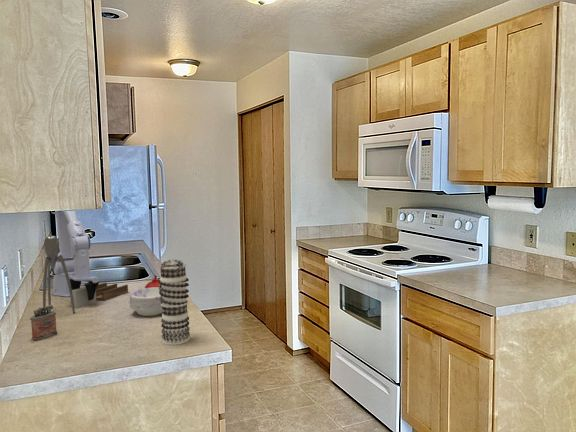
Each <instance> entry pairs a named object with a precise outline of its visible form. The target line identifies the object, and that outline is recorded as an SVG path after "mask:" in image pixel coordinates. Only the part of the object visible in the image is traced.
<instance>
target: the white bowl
mask: <svg viewBox="0 0 576 432" xmlns="http://www.w3.org/2000/svg"><path fill="white" fill-rule="evenodd" d="M159 291H160V290H159V287H153V288H145V287H144V288H140V289H136V290H135V289H134V290H133V291H131V292H130V293H129V308H130V309H132V310H134V311H135V312H136V314H138V315H139V316H142V317H143V316H144V317H151V316H152V317H153V316H158V315H162V313H163V312H162V306H161V304H160V302H161V301H160V297H161V295H160V294H159Z"/></svg>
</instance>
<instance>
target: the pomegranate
mask: <svg viewBox="0 0 576 432" xmlns="http://www.w3.org/2000/svg"><path fill="white" fill-rule="evenodd" d="M157 277H158V276H157V275H156V274H154V275H153V277H152V279H148V280H147V279H146V282H147V281H149V282H147V284H146V285H145V286H144V288H153V287H159V285H160V284H159V283H158V281H159V280H160V277H159V278H157ZM160 282H161V281H160ZM161 288H162V287H161Z"/></svg>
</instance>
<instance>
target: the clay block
mask: <svg viewBox="0 0 576 432" xmlns="http://www.w3.org/2000/svg"><path fill="white" fill-rule="evenodd" d="M72 294H73V300H74V308H75V309H80V308H81V307H86V306H88V305H91V304H93V303H97V300H96V291H95V295H94V299H93V300H90V301H89V300H88V295H87V290H86V287H85V286H82V287H81V286H80V288H78V289H74V290H72Z"/></svg>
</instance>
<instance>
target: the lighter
mask: <svg viewBox="0 0 576 432" xmlns="http://www.w3.org/2000/svg"><path fill="white" fill-rule="evenodd" d="M53 309H54V305H53V304H51V305H46V306H45V307H43V306H39V307H38V308H37V309H33V314H34V315H32V316H30V322H31V341H32V340H33V341H32V342H39V341H43V340H46V339H50V338H52V337H55V336H57V335H58V331H57V321H56V319H57V318H56V315H57V312H56V311H55V310H53ZM49 310H51V311H49ZM42 339H43V340H42ZM38 340H39V341H38Z"/></svg>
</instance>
